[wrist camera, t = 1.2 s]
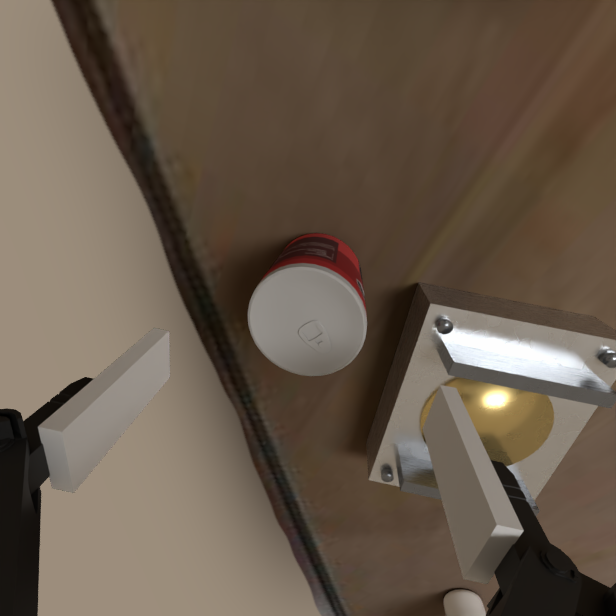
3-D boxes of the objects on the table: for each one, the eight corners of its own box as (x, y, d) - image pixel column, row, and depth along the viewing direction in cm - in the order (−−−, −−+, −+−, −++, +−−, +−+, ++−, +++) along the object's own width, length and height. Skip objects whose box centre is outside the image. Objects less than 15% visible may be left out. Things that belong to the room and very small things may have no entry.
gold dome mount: (418, 282, 31) (440, 320, 23) (595, 317, 30) (674, 366, 23) (366, 442, 39) (370, 507, 31) (504, 472, 38) (540, 544, 31)
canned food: (326, 326, 33) (317, 396, 23) (262, 277, 32) (223, 329, 22) (380, 269, 30) (395, 321, 20) (311, 213, 29) (291, 239, 19)
